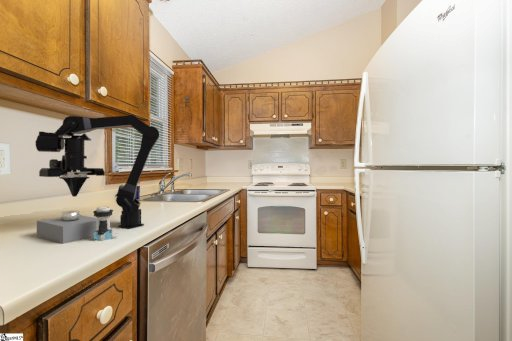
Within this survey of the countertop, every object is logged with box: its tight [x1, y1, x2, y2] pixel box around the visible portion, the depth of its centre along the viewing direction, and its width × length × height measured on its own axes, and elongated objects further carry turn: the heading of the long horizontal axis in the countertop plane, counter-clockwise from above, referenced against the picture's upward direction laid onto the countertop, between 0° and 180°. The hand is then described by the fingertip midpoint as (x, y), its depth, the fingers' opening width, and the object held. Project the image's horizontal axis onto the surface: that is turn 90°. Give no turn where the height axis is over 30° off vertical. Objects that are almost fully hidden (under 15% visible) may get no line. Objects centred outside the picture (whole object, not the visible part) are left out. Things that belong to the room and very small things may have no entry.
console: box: [36, 214, 100, 244], centre depth 84 cm, size 12×16×5 cm
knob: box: [61, 210, 81, 221], centre depth 84 cm, size 5×5×8 cm
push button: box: [92, 206, 118, 242], centre depth 80 cm, size 7×5×10 cm
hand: (74, 196), depth 90 cm, fingers closed
